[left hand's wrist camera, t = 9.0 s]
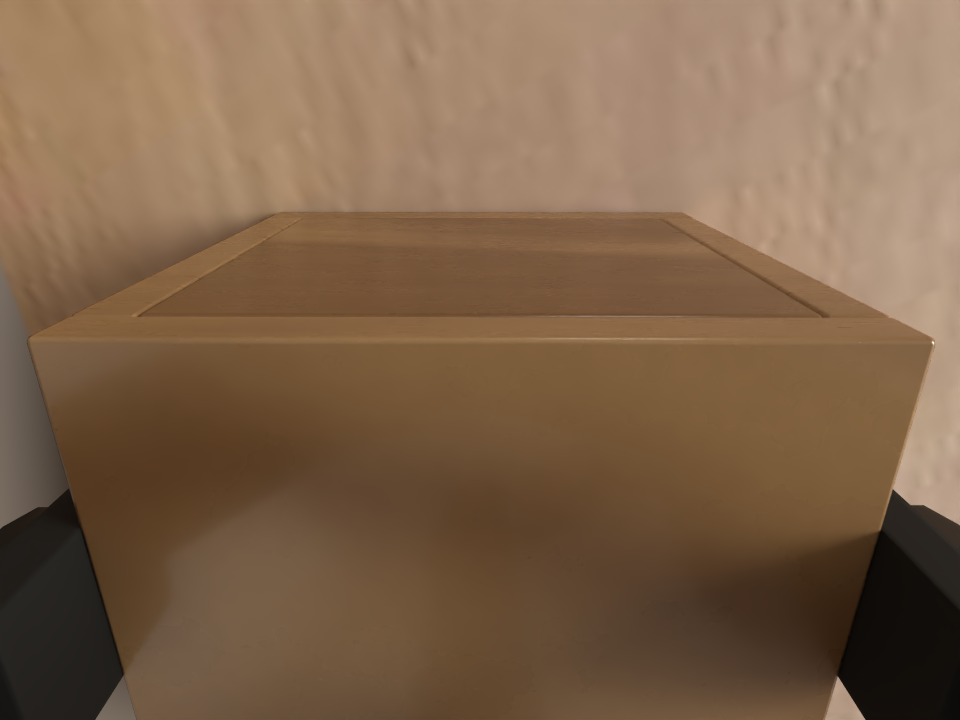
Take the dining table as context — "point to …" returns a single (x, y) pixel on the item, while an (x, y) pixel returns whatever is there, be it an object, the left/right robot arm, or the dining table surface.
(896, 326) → the cabinet
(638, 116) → the dining table surface
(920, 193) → the dining table surface
